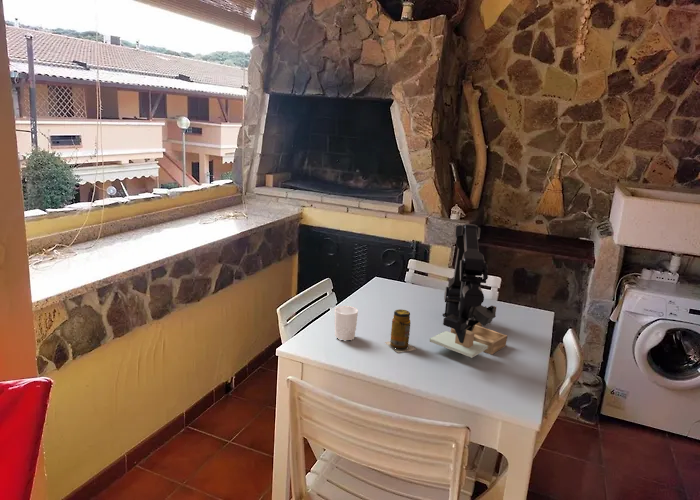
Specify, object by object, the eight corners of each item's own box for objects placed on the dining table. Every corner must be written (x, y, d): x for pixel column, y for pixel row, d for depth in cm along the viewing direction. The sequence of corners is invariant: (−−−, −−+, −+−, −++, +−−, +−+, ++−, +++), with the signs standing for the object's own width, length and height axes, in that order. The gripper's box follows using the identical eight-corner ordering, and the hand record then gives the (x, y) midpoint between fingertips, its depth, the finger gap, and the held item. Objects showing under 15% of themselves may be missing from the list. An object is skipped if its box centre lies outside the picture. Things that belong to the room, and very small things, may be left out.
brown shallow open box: (445, 341, 179) (447, 327, 177) (468, 329, 189) (469, 316, 188) (487, 357, 168) (489, 342, 167) (509, 344, 179) (510, 330, 178)
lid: (429, 341, 170) (430, 325, 169) (445, 333, 177) (447, 318, 176) (471, 357, 160) (473, 341, 158) (487, 348, 167) (489, 332, 165)
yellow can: (402, 339, 178) (405, 307, 175) (416, 350, 171) (419, 316, 168) (384, 342, 175) (387, 309, 172) (397, 353, 167) (400, 318, 164)
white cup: (359, 335, 179) (361, 308, 177) (350, 344, 172) (352, 316, 170) (339, 330, 182) (341, 304, 180) (329, 338, 175) (330, 311, 173)
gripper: (477, 310, 151) (471, 358, 155) (506, 296, 164) (500, 341, 168) (444, 299, 158) (439, 346, 162) (475, 287, 171) (470, 330, 175)
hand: (463, 341), depth 167 cm, fingers closed on lid, 3 cm apart
